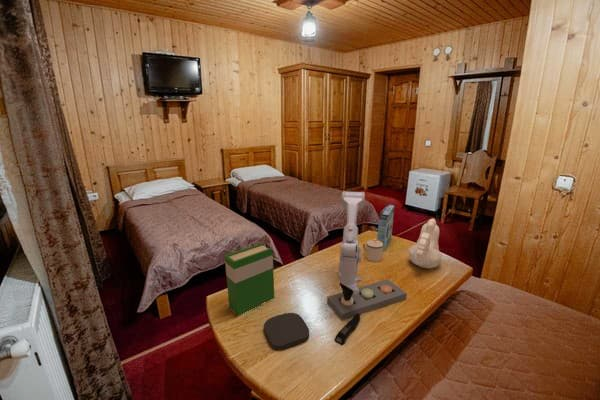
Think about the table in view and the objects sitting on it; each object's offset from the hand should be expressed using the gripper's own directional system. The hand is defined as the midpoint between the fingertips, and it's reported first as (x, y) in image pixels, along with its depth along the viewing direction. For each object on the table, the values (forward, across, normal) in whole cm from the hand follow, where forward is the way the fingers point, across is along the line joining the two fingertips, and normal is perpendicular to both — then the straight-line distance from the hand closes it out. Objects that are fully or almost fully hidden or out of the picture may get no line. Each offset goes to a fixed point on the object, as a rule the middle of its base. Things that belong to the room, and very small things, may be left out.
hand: (347, 299), depth 116 cm
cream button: (+2, 0, 0) cm, 2 cm away
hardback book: (+4, +15, +37) cm, 40 cm away
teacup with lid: (+4, +34, -33) cm, 48 cm away
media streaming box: (+4, -6, +28) cm, 28 cm away
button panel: (+4, +1, -10) cm, 11 cm away
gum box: (+4, +46, -49) cm, 67 cm away
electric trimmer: (+4, -12, +6) cm, 14 cm away
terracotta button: (+2, +2, -20) cm, 20 cm away
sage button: (+1, +1, -10) cm, 10 cm away
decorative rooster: (+4, +18, -52) cm, 55 cm away
